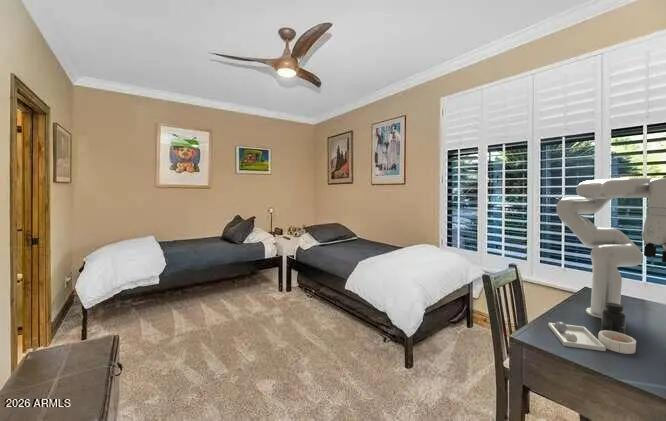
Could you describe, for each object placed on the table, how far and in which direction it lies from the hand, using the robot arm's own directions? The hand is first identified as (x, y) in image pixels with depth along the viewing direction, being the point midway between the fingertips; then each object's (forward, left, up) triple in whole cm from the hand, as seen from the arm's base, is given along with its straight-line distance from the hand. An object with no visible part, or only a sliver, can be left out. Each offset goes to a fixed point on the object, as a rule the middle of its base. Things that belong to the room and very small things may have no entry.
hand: (658, 259), depth 111 cm
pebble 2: (+13, -30, -30) cm, 44 cm away
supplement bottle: (0, -12, -31) cm, 33 cm away
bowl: (+11, -16, -30) cm, 36 cm away
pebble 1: (+4, -30, -30) cm, 42 cm away
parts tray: (+8, -27, -30) cm, 41 cm away
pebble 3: (+11, -16, -30) cm, 35 cm away
